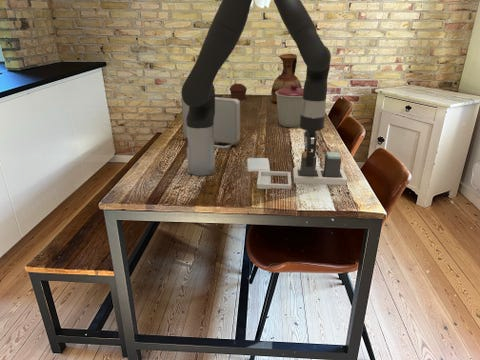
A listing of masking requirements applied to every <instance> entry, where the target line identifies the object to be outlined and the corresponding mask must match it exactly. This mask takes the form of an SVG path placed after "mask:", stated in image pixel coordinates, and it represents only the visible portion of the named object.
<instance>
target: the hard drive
mask: <svg viewBox="0 0 480 360" xmlns="http://www.w3.org/2000/svg"><path fill="white" fill-rule="evenodd" d="M246 160H247V166H246V167H247V172H248V173H259V171H271V168H270V161H269V158H268V157H248V158H247V159H246Z"/></svg>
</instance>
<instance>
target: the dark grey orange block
mask: <svg viewBox="0 0 480 360" xmlns="http://www.w3.org/2000/svg"><path fill="white" fill-rule="evenodd" d="M309 152H312V150H311V151H309ZM300 159H301V161H300V168H301V169H300V176H309V177H315V170H316V169H317V155H315V157H314V158H313V166H312V167H306V151H304V150H303V151H302V153H301V158H300Z"/></svg>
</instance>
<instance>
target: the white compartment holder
mask: <svg viewBox="0 0 480 360" xmlns="http://www.w3.org/2000/svg"><path fill="white" fill-rule="evenodd" d="M292 168H293V169H292V170H293V171H292V175H293V177H292V178H293V184H303V185H304V184H305V185H324V186H325V185H331V186H348V185H347V184H348V177H347V175H346V173H345V171H344V169H340V174H339V178H333V177H323V173H324V168H316V170H315V177H309V176H300V169H301V167H292Z"/></svg>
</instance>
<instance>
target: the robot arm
mask: <svg viewBox="0 0 480 360" xmlns="http://www.w3.org/2000/svg"><path fill="white" fill-rule="evenodd" d="M252 2H253V0H221V3H220V4H219V7H218V9H217V11H216V13H215V15H214V16H213V19H212V22H211V24H210V26H209V28H208V31H207V34H206V35H205V39H204V41H203V43H202V46H201V48H200V51H199V54H198V57H197V59H196V60H195V64H194V65H193V67H192V69H191V70H190V72H189V74H188V76H187V77H186V79H185V81H184V82H183V85H182V87H181V99H183V101H184V102H185V104H186V105H188V106H189V112H188V115H187V118H186V123H187V137H188V138H187V137H186V138H187V147H186V160H187V172H188V174H192V176H193V175H194V176H199V177H200V176H208V175H212V174H214V173H215V172H216V151H215V148H216V147H214V145H215V144H214V116H215V97H216V90H215V85H214V81H215V78H216V76H217V74H218V72H219V71H220V70H221V68H222V67H223V65H224V64H225V63H226V61H227V60H228V59H229V57H230V56H231V54H232V52H233V51H234V49H235V47H236V46H237V44H238V42H239V40H240V38H241V36H242V33H243V32H244V30H245V26H246V24H247V20H248V17H249V14H250V11H251V10H250V9H251V5H252ZM273 3H274V5H275V7H276V9H277V12H278V14H279V16H280V18H281V21H282V22H283V24H284V26H285V28H286V29H287V31H288V33H289V35H290V37H291V38H292V40H293V42H295V43H294V44H296V47H297V49H298V52H299V54H300V56H301V58H302V60H303V62H304V64H305V66H306V71H305V72H306V74H305V75H306V76H305V80H304V83H303V89H304V90H303V100H302V105H301V115H300V127H299V128H300V129H301V130H303V131H305V132H304V133H303V143H304V144H303V146H304V150H303V151H306V167H312V166H313V158H314V157H315V155H316V152H317V141H318V134H317V132H318V131H322V130H323V129H324V126H325V119H326V109H327V104H326V103H327V102H326V101H327V94H328V93H327V92H328V91H327V90H328V78H329V72H330V65H331V59H332V54H331V51H330V49H329V48H328V47H327V46H325V44H324V42H323V41H322V39H321V37H320V35H319V34H318V33H317V28H316V25H315V23H314V21H313V20H312V18H311V16H310V14H309V12H308V10H307V9H306V7H305V5H304V3H303V2H302V1H301V0H273ZM309 151H311V152H309ZM316 156H317V155H316Z"/></svg>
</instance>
